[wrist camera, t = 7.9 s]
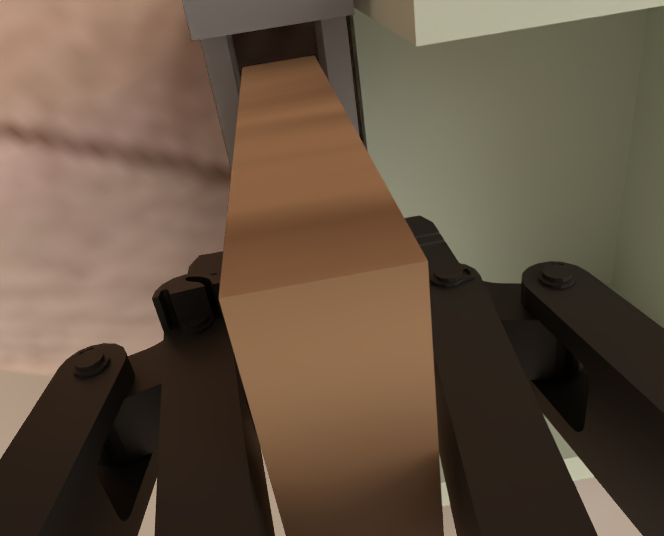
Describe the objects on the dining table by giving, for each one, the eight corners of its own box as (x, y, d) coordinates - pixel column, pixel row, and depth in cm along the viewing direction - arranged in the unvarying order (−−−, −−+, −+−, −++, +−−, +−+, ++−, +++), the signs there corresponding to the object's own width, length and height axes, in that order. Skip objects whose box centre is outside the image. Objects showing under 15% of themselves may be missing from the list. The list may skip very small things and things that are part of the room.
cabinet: (196, -18, 19) (150, 12, 11) (676, -94, 20) (996, -124, 11) (281, 350, 28) (293, 535, 19) (620, 289, 28) (782, 440, 20)
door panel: (219, 70, 17) (151, 310, 6) (314, 55, 17) (428, 261, 6) (269, 292, 21) (286, 688, 10) (346, 278, 21) (450, 654, 10)
